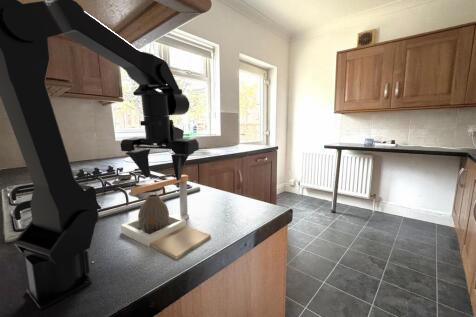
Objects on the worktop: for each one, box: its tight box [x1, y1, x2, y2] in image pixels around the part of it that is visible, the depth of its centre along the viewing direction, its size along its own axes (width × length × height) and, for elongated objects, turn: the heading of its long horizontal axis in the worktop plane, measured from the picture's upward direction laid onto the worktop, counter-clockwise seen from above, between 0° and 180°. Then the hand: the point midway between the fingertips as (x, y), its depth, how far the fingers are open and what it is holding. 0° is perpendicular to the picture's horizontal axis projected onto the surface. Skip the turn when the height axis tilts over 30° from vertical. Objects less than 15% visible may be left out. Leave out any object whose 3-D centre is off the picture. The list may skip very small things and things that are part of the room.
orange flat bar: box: [130, 174, 189, 195], centre depth 54 cm, size 16×3×1 cm, turn 147°
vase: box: [137, 193, 170, 235], centre depth 52 cm, size 7×7×9 cm
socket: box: [120, 181, 190, 247], centre depth 54 cm, size 16×11×10 cm
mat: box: [149, 225, 212, 260], centre depth 48 cm, size 10×10×1 cm
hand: (162, 178), depth 55 cm, fingers open, 9 cm apart
